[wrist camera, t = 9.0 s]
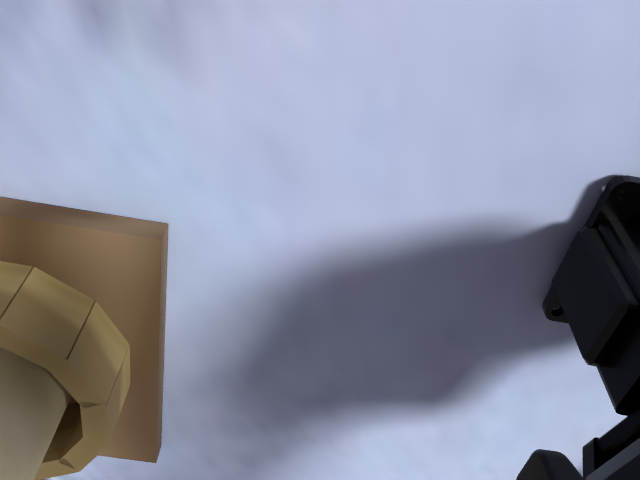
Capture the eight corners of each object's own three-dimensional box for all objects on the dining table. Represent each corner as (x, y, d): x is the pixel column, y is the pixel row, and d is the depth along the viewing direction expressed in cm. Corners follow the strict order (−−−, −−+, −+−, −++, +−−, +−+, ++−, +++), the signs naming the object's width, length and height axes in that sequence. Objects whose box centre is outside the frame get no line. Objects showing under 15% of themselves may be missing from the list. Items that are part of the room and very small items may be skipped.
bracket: (168, 224, 23) (139, 296, 19) (161, 445, 31) (139, 521, 28) (-172, 169, 22) (-261, 236, 19) (-85, 412, 30) (-136, 487, 27)
